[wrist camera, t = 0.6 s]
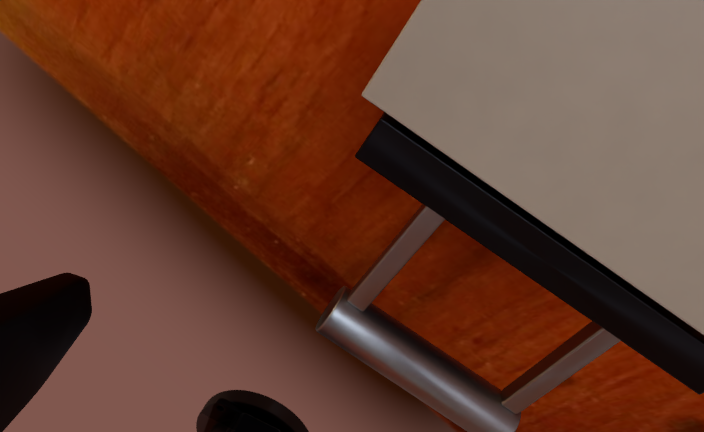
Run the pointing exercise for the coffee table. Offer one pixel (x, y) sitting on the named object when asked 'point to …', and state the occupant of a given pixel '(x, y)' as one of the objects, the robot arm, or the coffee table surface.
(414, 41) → the grey drawer unit
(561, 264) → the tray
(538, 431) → the coffee table surface
